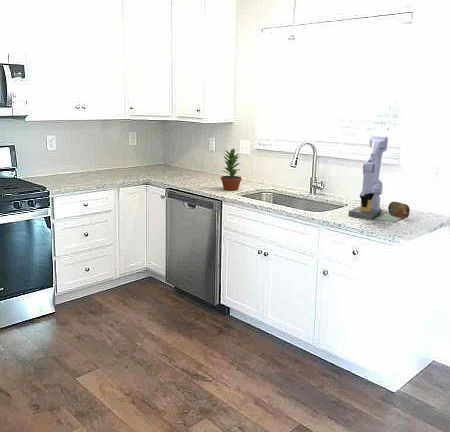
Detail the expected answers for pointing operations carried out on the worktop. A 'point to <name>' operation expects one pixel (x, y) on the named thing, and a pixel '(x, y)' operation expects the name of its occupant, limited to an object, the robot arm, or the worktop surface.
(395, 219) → the mat
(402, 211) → the tin
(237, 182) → the potted plant
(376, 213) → the square hole plate
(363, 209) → the plug
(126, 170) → the worktop surface
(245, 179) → the worktop surface
